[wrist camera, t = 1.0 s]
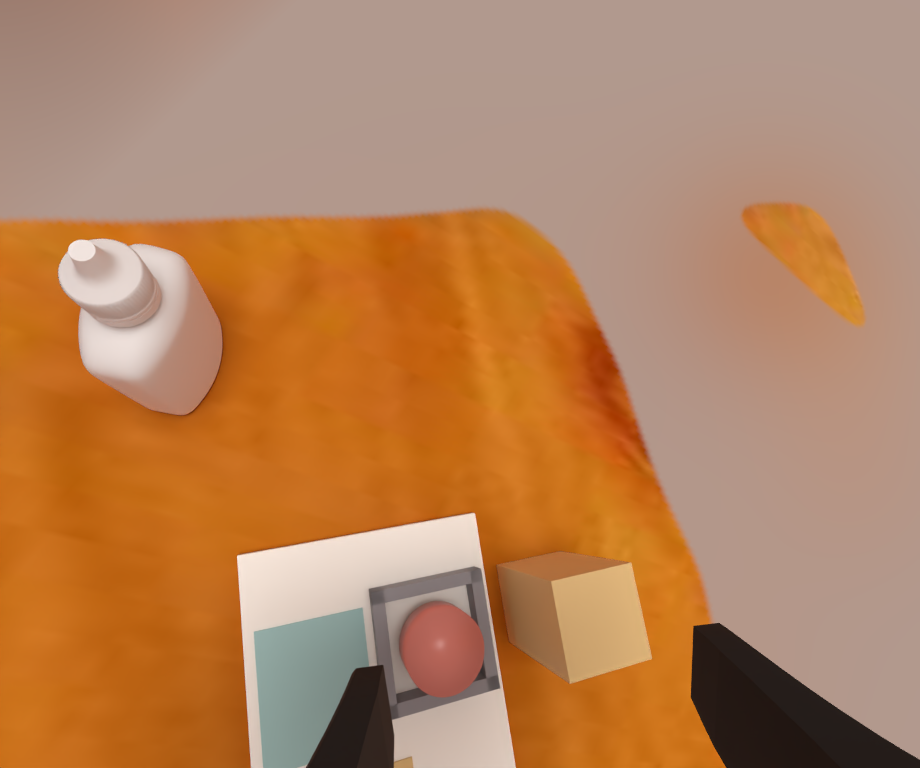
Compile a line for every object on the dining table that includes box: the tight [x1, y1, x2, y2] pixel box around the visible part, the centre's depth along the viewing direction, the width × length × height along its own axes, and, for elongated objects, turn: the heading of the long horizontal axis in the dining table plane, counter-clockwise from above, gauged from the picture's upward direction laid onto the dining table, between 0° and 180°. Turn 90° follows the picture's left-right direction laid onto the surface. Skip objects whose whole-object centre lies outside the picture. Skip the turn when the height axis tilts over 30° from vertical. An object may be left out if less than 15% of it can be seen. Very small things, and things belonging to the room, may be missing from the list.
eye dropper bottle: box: [58, 238, 222, 415], centre depth 20 cm, size 4×6×12 cm
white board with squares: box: [237, 513, 516, 768], centre depth 23 cm, size 20×12×2 cm, turn 9°
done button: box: [399, 601, 484, 697], centre depth 23 cm, size 4×4×2 cm
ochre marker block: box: [496, 551, 652, 684], centre depth 25 cm, size 4×4×7 cm
